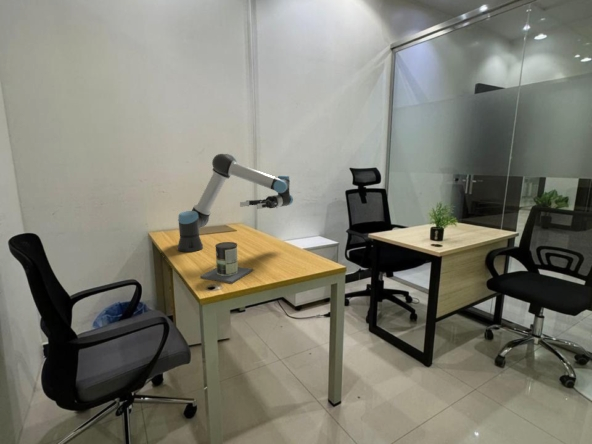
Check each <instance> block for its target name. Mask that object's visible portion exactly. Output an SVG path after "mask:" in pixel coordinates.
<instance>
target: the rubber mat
mask: <svg viewBox="0 0 592 444" xmlns="http://www.w3.org/2000/svg"><path fill="white" fill-rule="evenodd" d="M253 271H254V269H253V268H248V267H242V266H238V272H237V273H236V274H234V275H231V276H221V275H218V274H217V267H215V268H213V269H211V270H209V271H207V272H204V273H203V274H201V275H200V279H204V280H210V281H215V280H216V282H221V281H223V282H222V283H227V282H228V283H229V284H235V282H237V281H238V280H240V278H241V279H242V278H243V277H245V276H247V275H248V274H250V273H252V272H253Z"/></svg>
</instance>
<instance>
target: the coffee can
mask: <svg viewBox="0 0 592 444" xmlns="http://www.w3.org/2000/svg"><path fill="white" fill-rule="evenodd" d="M214 248H215V259H216V260H215V261H216V268H217V274H218V275H221V276H231V275H234V274H236V273H237V272H238V267H239V266H238V265H239V264H238V243H237V242H234V241H233V242H232V241H223V242H219V243H216V244H215V246H214Z"/></svg>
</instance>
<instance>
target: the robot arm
mask: <svg viewBox="0 0 592 444" xmlns="http://www.w3.org/2000/svg"><path fill="white" fill-rule="evenodd" d="M211 164H212V167H213V168H212V175H211V177H210V178H209V181H208V183H207V184H206V187H205V189H204V191H203V193H202V195H201V197H200V199H199V201H198V203H197V204H196V205H195V204H194V205H193V208H192V209H191V210H186V211H182V212H180V213H179V214H178V220H177V221H178V228H179V229H178V230H179V240H178V244H177V251H179V252H181V253H192V252H193V253H194V252H198V251H201V250H203V248H204V245H203V242H202V239H201V237H200V229H201V228H204V227H205V226H206V225H207V224H208V223H209V221H210V215H211V211H210V210H211V208H212V207H213V205H214V203H215V201H216V199H217V197H218V195H219V193H220V192H221V189H222V187H223V185H224V183H225V182H226V180H228V179H230V178H231V176H234V177H236V178H240V179H243V180H245V181H247V182H251V183H254V184H256V185H259V186H261V187H264V188H267V189H270V190H272V191H275V193H277V194H274V195H268V196H267V197H266V199H265V198H264V199H253V200H251V199H250V200H245V201H240V202H239V207H250V206H256V209H257V210H260V209H265V208H267V209H278V208H279V207H287V206H290V205H292V204H293V202H294V198H293V196H292V194H291V193H290V176H289V175H278V176H277V177H275V176H272V175H270V174H267V173H264V172H262V171H259V170H257V169H254V168H251V167H248V166H246V165H243V164H240V163H238V162H237V160H236V158H235V157H234V156H233V155H231V154H230V153H229V154H228V153H218V154H216V155H215V156H214V157H213V158H212V161H211Z"/></svg>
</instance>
